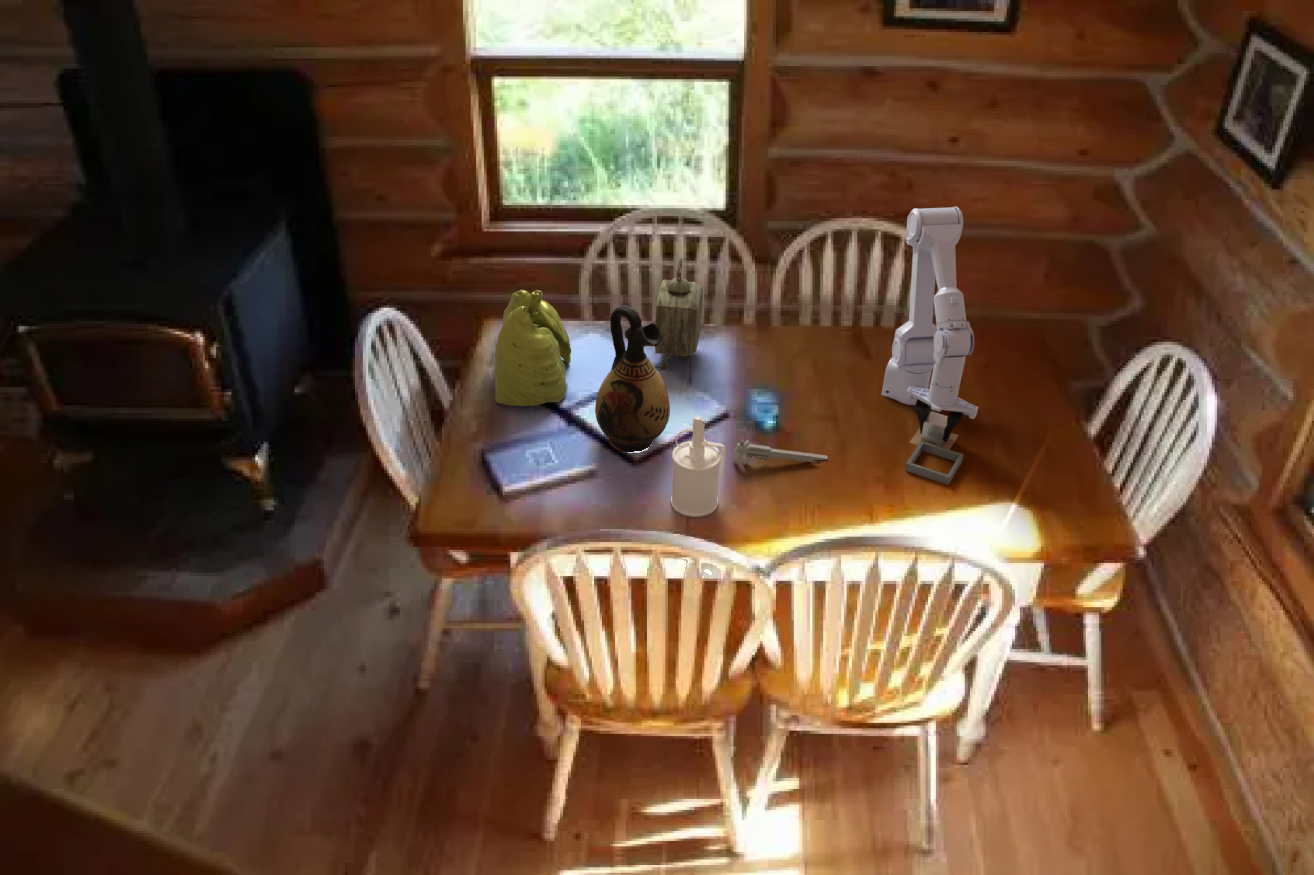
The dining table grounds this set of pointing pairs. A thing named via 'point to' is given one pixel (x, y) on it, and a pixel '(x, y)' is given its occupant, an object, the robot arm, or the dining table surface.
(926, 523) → the dining table surface
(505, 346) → the lungs
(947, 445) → the stud plate
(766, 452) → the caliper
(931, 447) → the bin
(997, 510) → the dining table surface
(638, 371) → the ceramic jug
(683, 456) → the white cylinder with rod
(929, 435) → the grey block
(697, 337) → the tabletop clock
